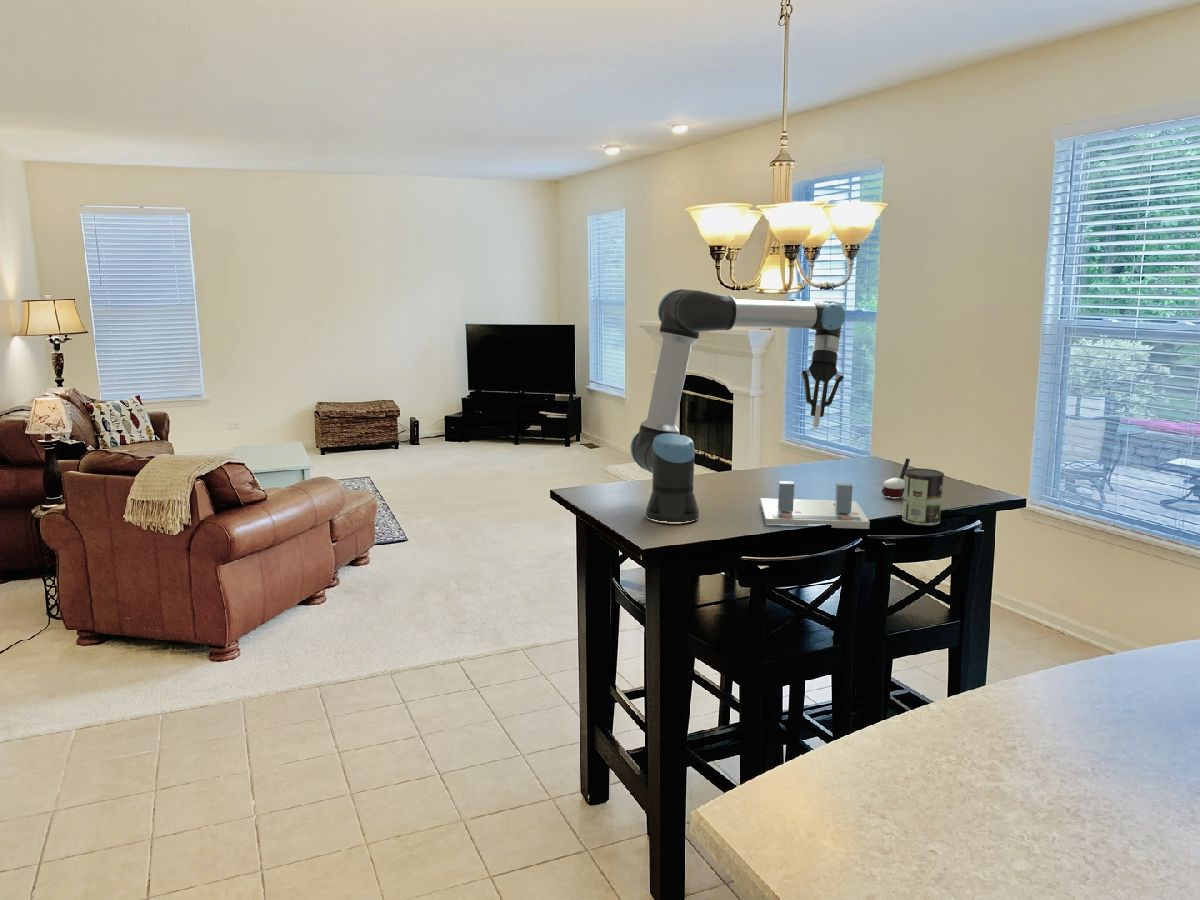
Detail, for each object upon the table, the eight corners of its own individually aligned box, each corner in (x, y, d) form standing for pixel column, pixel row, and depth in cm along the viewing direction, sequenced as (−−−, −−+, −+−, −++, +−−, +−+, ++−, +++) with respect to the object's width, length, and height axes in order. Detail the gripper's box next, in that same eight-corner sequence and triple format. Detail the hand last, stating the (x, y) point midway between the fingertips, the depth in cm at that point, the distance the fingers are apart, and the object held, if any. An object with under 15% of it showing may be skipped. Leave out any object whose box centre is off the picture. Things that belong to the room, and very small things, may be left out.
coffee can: (936, 516, 250) (940, 468, 247) (943, 526, 240) (947, 477, 237) (899, 514, 252) (902, 467, 249) (904, 524, 242) (907, 475, 239)
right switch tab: (836, 512, 245) (837, 485, 243) (834, 509, 248) (836, 482, 246) (850, 513, 244) (852, 485, 243) (849, 510, 247) (850, 483, 246)
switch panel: (765, 525, 241) (765, 518, 241) (760, 504, 263) (760, 497, 262) (869, 528, 238) (869, 521, 238) (855, 507, 260) (855, 500, 259)
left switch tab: (778, 510, 247) (779, 483, 245) (777, 508, 250) (778, 481, 248) (792, 511, 246) (794, 484, 245) (791, 508, 249) (793, 481, 247)
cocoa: (883, 501, 268) (884, 464, 265) (876, 495, 274) (877, 458, 271) (913, 500, 268) (915, 462, 265) (906, 494, 274) (908, 457, 271)
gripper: (844, 357, 270) (834, 431, 268) (802, 351, 272) (792, 425, 269) (849, 351, 263) (839, 428, 261) (805, 346, 264) (795, 422, 262)
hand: (815, 426), depth 265 cm, fingers closed
